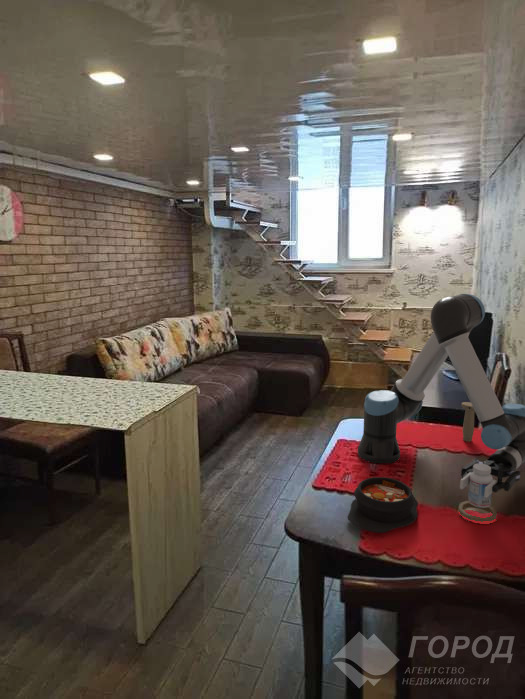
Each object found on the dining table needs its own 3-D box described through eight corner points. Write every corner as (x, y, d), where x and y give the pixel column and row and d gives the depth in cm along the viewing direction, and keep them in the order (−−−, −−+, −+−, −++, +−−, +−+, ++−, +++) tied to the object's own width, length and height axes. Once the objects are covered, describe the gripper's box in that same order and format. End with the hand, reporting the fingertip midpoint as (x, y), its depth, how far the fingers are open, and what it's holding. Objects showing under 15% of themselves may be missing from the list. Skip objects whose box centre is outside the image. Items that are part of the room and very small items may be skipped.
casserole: (376, 488, 156) (377, 464, 155) (432, 509, 144) (434, 483, 142) (331, 521, 138) (332, 494, 137) (391, 548, 126) (393, 519, 124)
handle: (475, 444, 189) (478, 407, 186) (457, 441, 193) (460, 404, 189) (476, 440, 193) (480, 403, 190) (459, 436, 197) (462, 401, 193)
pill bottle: (489, 499, 142) (492, 463, 140) (491, 510, 137) (495, 473, 134) (466, 496, 144) (469, 460, 142) (468, 506, 139) (471, 470, 136)
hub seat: (466, 524, 136) (466, 520, 136) (452, 505, 146) (452, 500, 146) (503, 524, 136) (504, 519, 136) (486, 504, 146) (487, 500, 146)
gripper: (536, 483, 146) (508, 513, 130) (472, 463, 159) (439, 489, 143) (539, 459, 144) (511, 487, 128) (473, 442, 157) (441, 465, 141)
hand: (473, 488), depth 135 cm, fingers closed on pill bottle, 6 cm apart
